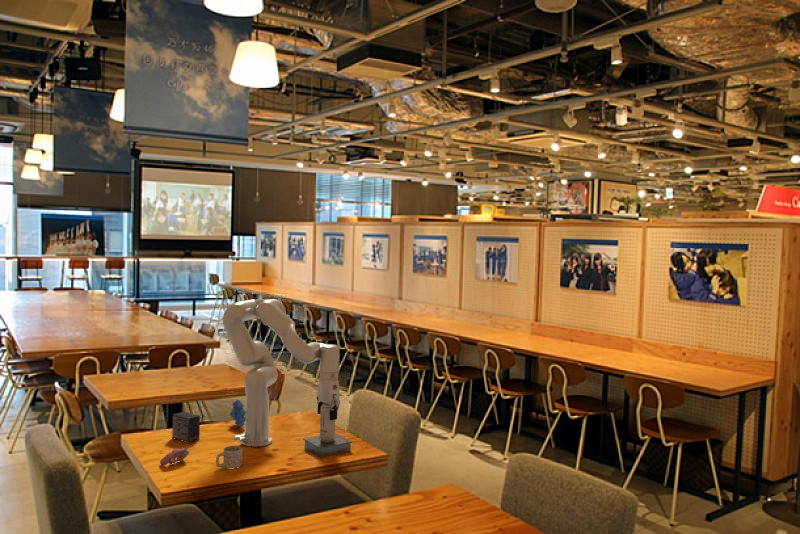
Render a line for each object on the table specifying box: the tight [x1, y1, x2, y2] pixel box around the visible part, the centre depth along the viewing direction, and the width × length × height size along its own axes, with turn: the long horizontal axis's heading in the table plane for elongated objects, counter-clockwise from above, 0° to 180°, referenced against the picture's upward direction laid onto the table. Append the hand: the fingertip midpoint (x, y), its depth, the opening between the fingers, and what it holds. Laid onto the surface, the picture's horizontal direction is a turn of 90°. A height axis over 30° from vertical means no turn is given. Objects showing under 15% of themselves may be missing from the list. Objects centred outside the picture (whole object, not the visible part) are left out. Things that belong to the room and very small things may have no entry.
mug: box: [215, 445, 243, 469], centre depth 238 cm, size 10×7×7 cm
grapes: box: [229, 399, 246, 428], centre depth 289 cm, size 12×7×12 cm, turn 37°
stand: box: [302, 432, 353, 458], centre depth 260 cm, size 15×14×4 cm
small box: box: [171, 411, 201, 443], centre depth 269 cm, size 11×6×10 cm, turn 58°
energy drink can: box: [319, 402, 336, 442], centre depth 260 cm, size 6×6×15 cm
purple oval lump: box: [159, 447, 190, 466], centre depth 240 cm, size 10×5×7 cm, turn 149°
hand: (327, 416), depth 260 cm, fingers open, 9 cm apart
